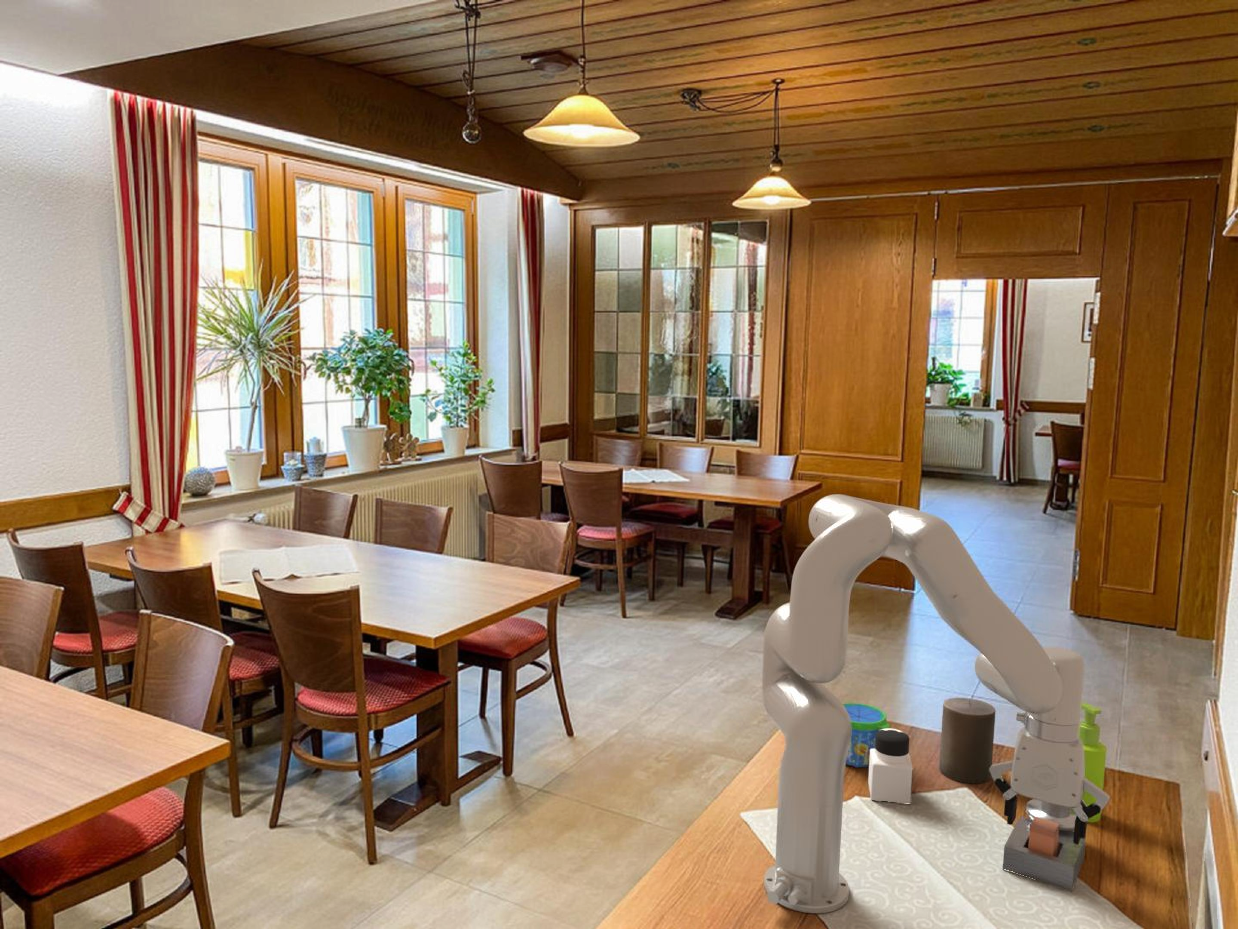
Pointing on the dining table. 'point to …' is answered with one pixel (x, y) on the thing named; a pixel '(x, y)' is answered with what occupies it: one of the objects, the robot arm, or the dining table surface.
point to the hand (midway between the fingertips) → (1043, 830)
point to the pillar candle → (967, 740)
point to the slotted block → (1040, 864)
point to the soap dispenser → (1092, 753)
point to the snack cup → (863, 732)
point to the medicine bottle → (890, 767)
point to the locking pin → (1043, 836)
